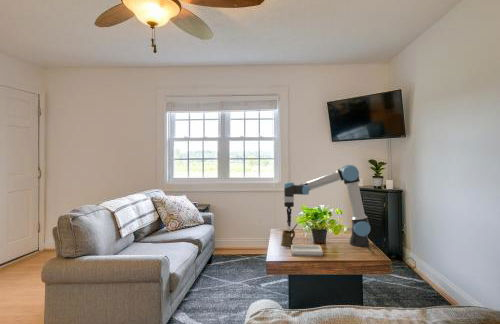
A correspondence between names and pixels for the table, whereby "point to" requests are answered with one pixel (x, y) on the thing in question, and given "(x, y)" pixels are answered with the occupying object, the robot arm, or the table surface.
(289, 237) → the wooden mug
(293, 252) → the tray
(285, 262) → the table surface
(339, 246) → the table surface
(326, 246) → the table surface
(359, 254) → the table surface
